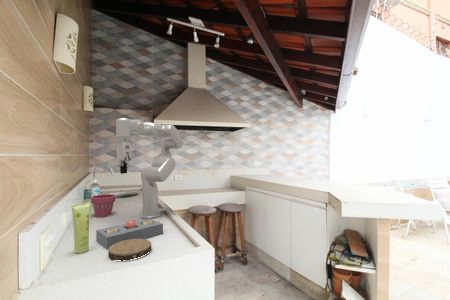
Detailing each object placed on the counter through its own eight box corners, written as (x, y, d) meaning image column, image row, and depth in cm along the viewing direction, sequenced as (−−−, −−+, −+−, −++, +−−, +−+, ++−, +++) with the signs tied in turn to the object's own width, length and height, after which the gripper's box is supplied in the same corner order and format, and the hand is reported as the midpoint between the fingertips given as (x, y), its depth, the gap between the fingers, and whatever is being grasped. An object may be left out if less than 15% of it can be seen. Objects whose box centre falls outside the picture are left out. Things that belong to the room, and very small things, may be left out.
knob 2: (149, 228, 120) (149, 220, 120) (153, 230, 117) (153, 222, 117) (141, 231, 117) (141, 222, 117) (145, 233, 114) (145, 223, 114)
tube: (85, 253, 93) (85, 204, 93) (71, 254, 92) (71, 205, 92) (90, 248, 98) (90, 201, 99) (77, 249, 97) (77, 202, 97)
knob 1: (115, 237, 108) (115, 227, 108) (119, 239, 105) (119, 230, 105) (105, 240, 105) (105, 230, 105) (108, 242, 101) (108, 232, 102)
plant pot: (119, 214, 154) (119, 195, 155) (98, 219, 142) (98, 198, 143) (107, 211, 162) (107, 193, 162) (86, 216, 150) (86, 196, 150)
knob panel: (149, 227, 125) (149, 218, 125) (163, 233, 115) (163, 223, 115) (96, 241, 106) (96, 230, 106) (107, 249, 96) (107, 237, 97)
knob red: (133, 228, 114) (133, 219, 114) (137, 230, 111) (137, 221, 111) (124, 230, 111) (124, 221, 111) (128, 232, 108) (128, 223, 108)
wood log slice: (104, 252, 95) (104, 244, 95) (143, 242, 104) (143, 236, 104) (113, 266, 82) (113, 258, 82) (157, 254, 92) (157, 246, 92)
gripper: (136, 140, 127) (136, 173, 127) (124, 141, 138) (125, 172, 137) (122, 139, 122) (122, 174, 122) (111, 140, 133) (111, 173, 132)
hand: (123, 173), depth 130 cm, fingers closed
